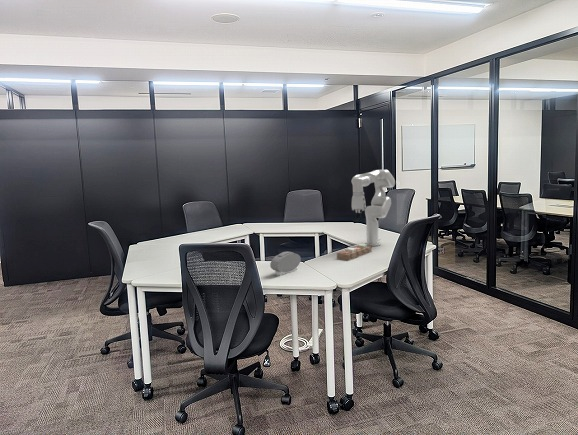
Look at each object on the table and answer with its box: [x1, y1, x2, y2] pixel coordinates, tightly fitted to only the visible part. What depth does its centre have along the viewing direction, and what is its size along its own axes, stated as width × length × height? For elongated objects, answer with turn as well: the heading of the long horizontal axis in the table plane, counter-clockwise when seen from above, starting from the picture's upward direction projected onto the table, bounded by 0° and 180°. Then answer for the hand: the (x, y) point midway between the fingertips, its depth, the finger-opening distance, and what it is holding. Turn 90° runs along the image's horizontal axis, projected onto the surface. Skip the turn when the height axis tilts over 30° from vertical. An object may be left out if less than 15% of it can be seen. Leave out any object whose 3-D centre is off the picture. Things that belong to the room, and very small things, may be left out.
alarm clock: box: [269, 251, 302, 276], centre depth 269 cm, size 23×6×13 cm, turn 141°
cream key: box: [345, 247, 356, 252], centre depth 306 cm, size 5×5×3 cm
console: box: [336, 245, 373, 261], centre depth 310 cm, size 32×10×4 cm, turn 141°
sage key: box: [357, 243, 367, 248], centre depth 318 cm, size 5×5×3 cm
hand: (358, 217), depth 324 cm, fingers closed
